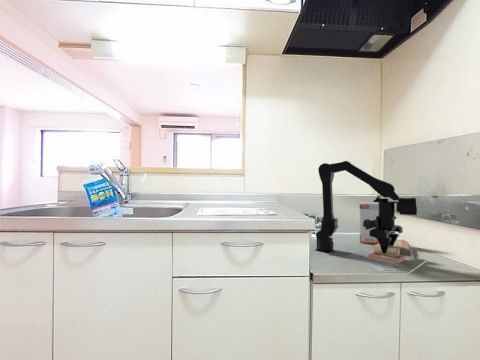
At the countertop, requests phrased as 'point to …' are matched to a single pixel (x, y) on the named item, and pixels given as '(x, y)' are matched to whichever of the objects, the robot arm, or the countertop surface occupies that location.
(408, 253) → the packaged product
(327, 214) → the robot arm
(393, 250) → the cream rectangular prism
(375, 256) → the frame
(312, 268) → the countertop surface
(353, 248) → the countertop surface
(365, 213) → the cracker box
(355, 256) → the mat
